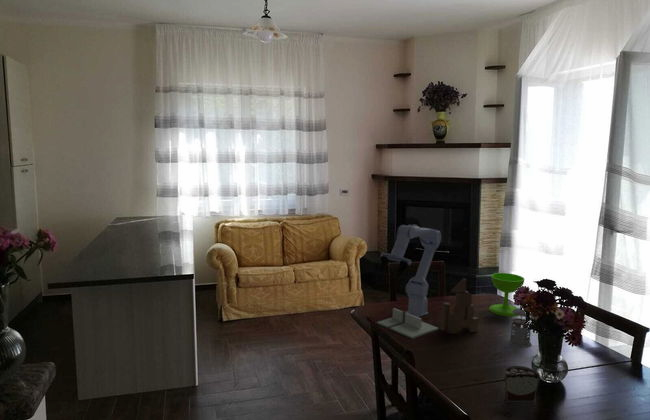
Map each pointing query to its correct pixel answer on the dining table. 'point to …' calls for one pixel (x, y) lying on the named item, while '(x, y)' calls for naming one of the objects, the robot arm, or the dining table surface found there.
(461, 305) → the wooden toy
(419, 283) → the robot arm
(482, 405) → the dining table surface
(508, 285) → the wineglass
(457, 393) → the dining table surface
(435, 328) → the board
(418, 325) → the fence panel
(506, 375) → the food container
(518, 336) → the grey box grater
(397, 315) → the base
